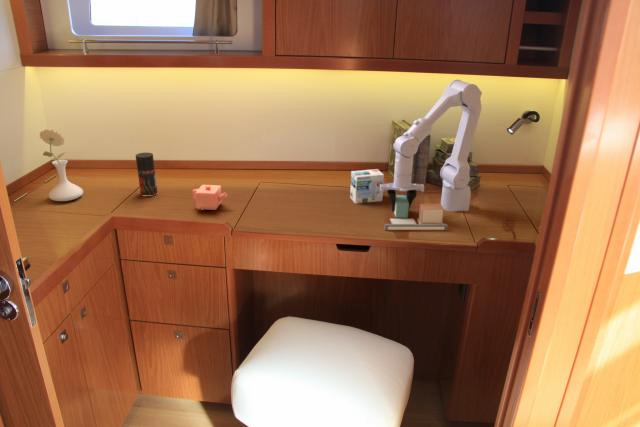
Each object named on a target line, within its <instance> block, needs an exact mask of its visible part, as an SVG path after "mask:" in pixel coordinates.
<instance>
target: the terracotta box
mask: <svg viewBox="0 0 640 427" xmlns="http://www.w3.org/2000/svg"><path fill="white" fill-rule="evenodd" d="M418 211H419V212H418V218H417V219H419V221H420V223H421V224H442V222H444V221H443V220H444V214H445V213H444V211H445V210H444V208H443V206H442V205H441V203H420V204H419V210H418Z"/></svg>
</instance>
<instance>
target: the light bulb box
mask: <svg viewBox="0 0 640 427" xmlns="http://www.w3.org/2000/svg"><path fill="white" fill-rule="evenodd" d="M384 181H385V174H384V173H383V172H381V171H380V170H379V169H378V168H375V169H363V170H351V172H350V189H349V190H350V194H349V198H350V199H351V201H353V203H354V204H355V205H357V204H365V203H372V202H373V203H375V202H383V196H384V194H383V193H384V191H383V192H381V191H380V184H385V182H384Z"/></svg>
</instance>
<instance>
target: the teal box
mask: <svg viewBox="0 0 640 427" xmlns="http://www.w3.org/2000/svg"><path fill="white" fill-rule="evenodd" d="M408 209H409V210H410V208H409V202H408V200H407V195H406V194H405V195H404V194H396V199H395V211H394V212H393V214H394V217H395V219H409V218H408V217H409V212H408Z"/></svg>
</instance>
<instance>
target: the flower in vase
mask: <svg viewBox="0 0 640 427" xmlns="http://www.w3.org/2000/svg"><path fill="white" fill-rule="evenodd" d="M39 138H40V139H41V140H42V141H43V142H44V143H46V144H48V145H49V151H44V152H43V154H42V156H46V157H49V158H54V159H55V160H53V161H51V164H52V165H53V166H54V167H55V168H56V171H57V174H58V177H59V180H58V181H59V182H58V184H56V185H55V186H54V187H53V188H52V189H51V190H50V192H49V193H48V198H49V199H50V200H51V201H55V202H68V201H69V202H70V201H72V200H73V201H74V200H77V199H78V198H79V197H81V196H82V195H83V194H84V190H83V188H81V187H80V186H79V185H77V184H74V183H73V182H70V181H69V180H68V178H67V173H66V166H67V163H68V162H69V160H67V159H59V158H61V157H62V156H63V155H64V154H65V152H62V153H59V155H57V157H56V156H55V155H54V153H53V151H52V146H53V147H59V146H63V145H64V144H65V139H64V137H63V136H62V134H61V133H59V132H58V131H54V130H53V129H50V130H49V129H43V130H42V131H39Z"/></svg>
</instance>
